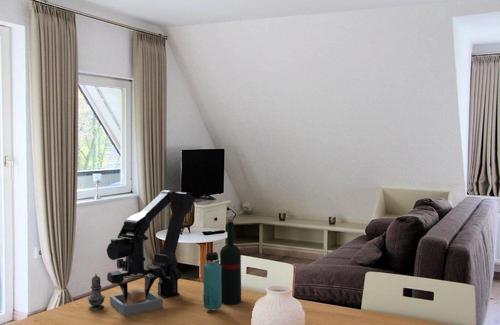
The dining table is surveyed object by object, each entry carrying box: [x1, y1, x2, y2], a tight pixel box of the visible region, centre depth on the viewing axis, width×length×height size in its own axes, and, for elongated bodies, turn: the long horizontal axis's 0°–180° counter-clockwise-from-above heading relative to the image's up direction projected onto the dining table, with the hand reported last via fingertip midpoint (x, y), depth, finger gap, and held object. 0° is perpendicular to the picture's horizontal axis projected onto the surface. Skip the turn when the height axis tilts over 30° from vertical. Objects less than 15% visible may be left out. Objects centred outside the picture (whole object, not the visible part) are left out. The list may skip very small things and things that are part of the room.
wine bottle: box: [219, 217, 242, 306], centre depth 190 cm, size 8×10×30 cm
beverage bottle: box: [202, 251, 223, 310], centre depth 179 cm, size 6×7×20 cm
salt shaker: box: [87, 273, 106, 311], centre depth 183 cm, size 6×6×12 cm
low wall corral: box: [109, 289, 164, 317], centre depth 185 cm, size 14×14×3 cm
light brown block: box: [127, 288, 146, 305], centre depth 185 cm, size 5×5×5 cm
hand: (136, 298), depth 185 cm, fingers open, 7 cm apart
